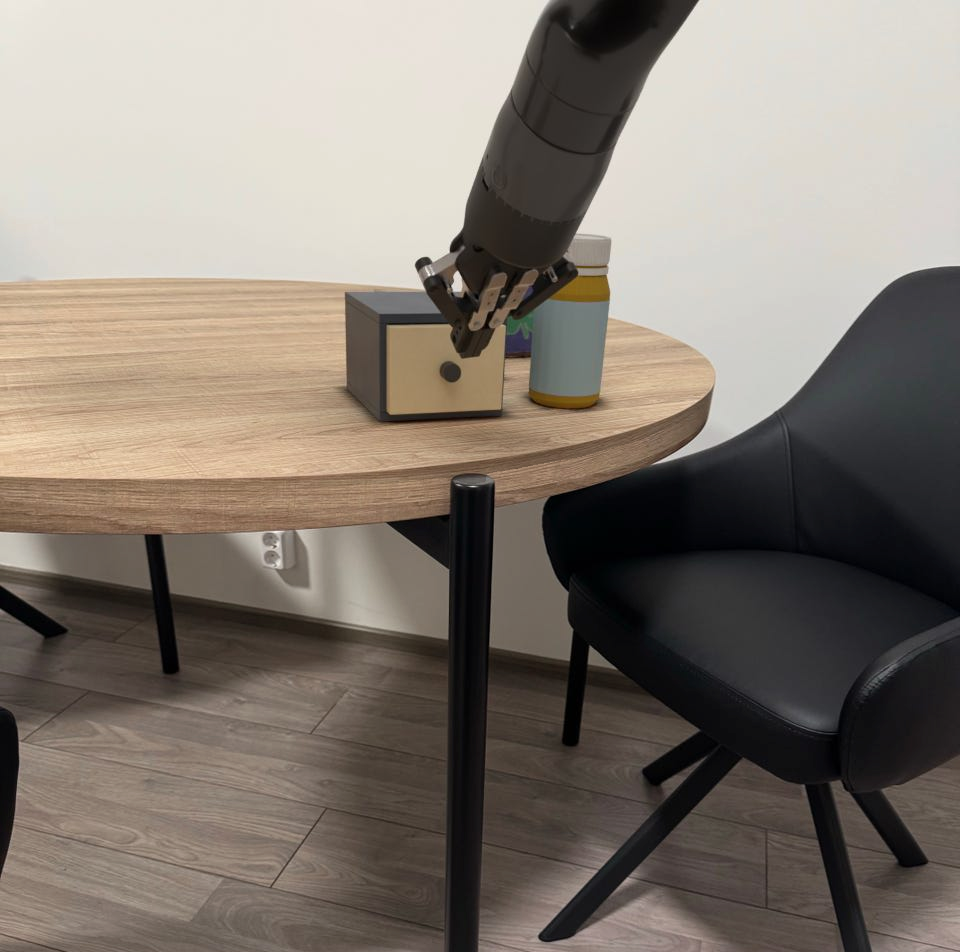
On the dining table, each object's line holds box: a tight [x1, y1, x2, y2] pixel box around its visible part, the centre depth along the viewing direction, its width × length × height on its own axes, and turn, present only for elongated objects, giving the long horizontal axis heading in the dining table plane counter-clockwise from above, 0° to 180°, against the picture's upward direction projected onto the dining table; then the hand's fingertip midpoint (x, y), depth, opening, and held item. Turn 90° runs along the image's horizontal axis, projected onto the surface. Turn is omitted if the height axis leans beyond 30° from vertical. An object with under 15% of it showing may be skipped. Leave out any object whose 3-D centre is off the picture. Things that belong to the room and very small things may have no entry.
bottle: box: [528, 232, 612, 409], centre depth 89 cm, size 7×7×15 cm
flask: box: [505, 285, 534, 358], centre depth 110 cm, size 9×3×11 cm, turn 111°
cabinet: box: [344, 291, 508, 423], centre depth 88 cm, size 13×12×9 cm
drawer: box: [387, 323, 506, 415], centre depth 86 cm, size 13×10×7 cm
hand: (465, 348), depth 75 cm, fingers closed
